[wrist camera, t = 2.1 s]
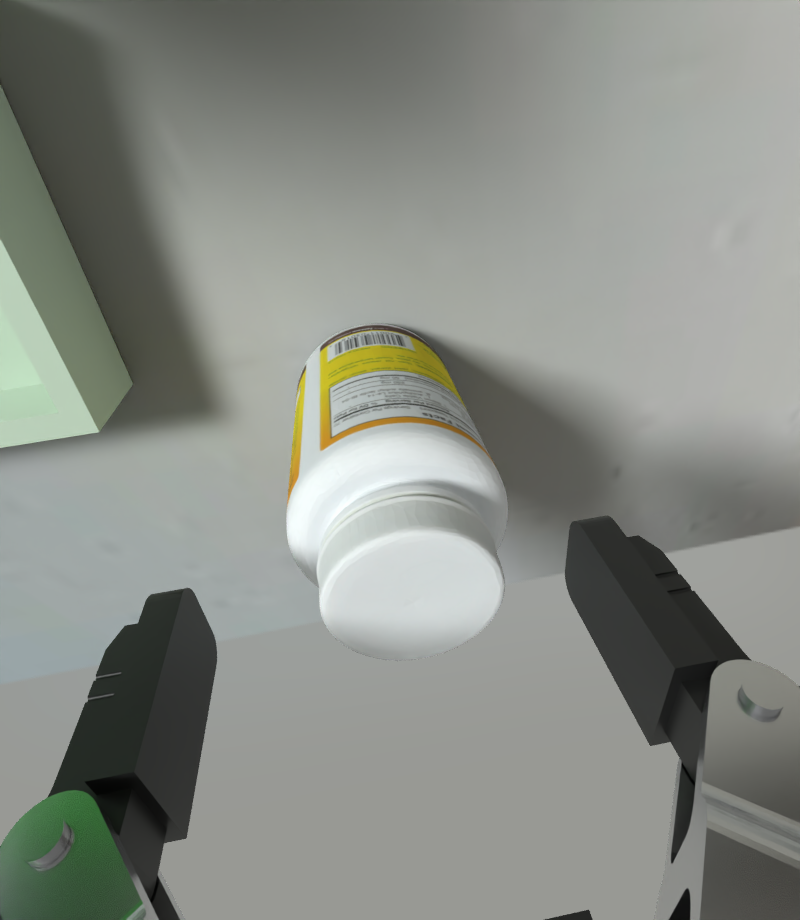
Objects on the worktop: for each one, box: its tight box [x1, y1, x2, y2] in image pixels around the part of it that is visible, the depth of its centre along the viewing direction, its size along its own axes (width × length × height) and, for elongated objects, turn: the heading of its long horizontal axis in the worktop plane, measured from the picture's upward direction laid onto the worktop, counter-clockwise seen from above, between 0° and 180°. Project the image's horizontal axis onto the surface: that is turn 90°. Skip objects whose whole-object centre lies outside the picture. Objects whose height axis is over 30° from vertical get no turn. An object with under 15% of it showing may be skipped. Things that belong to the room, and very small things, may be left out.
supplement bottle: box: [286, 323, 508, 661], centre depth 15 cm, size 6×6×10 cm
